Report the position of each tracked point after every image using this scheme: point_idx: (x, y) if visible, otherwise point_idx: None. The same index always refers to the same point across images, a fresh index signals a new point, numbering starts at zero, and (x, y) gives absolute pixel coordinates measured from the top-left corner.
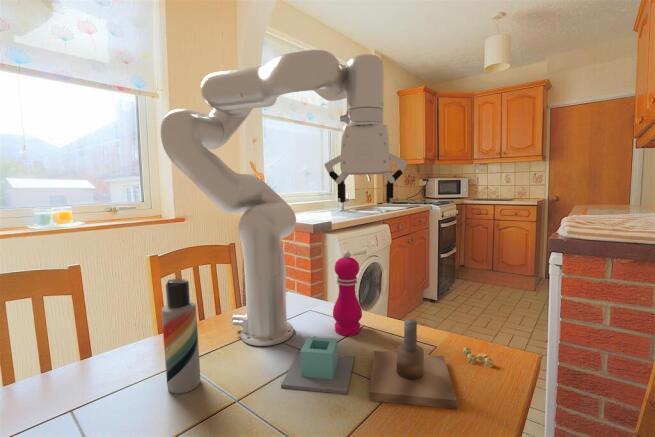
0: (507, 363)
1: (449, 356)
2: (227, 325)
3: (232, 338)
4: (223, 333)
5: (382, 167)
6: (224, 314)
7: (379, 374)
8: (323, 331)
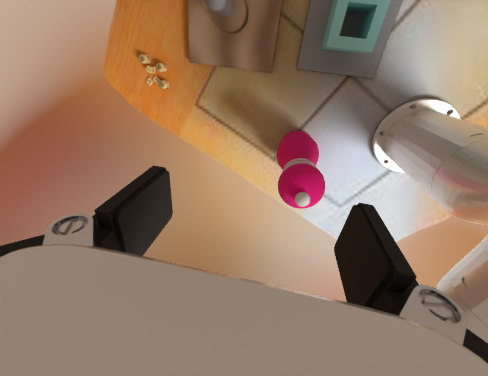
0: (128, 65)
1: (184, 79)
2: None
3: None
4: None
5: (13, 280)
6: None
7: (271, 3)
8: (328, 144)
